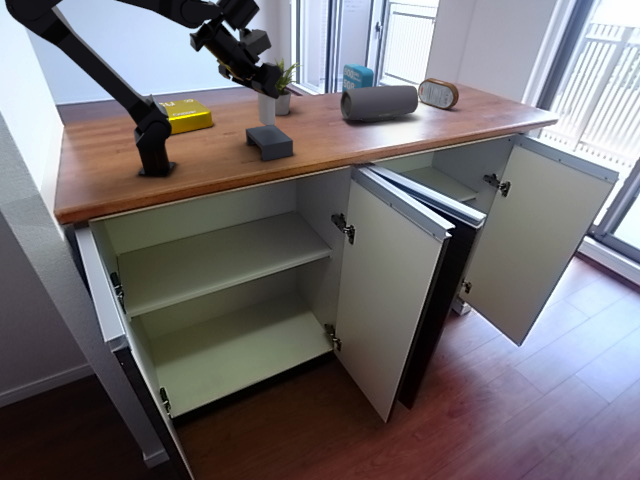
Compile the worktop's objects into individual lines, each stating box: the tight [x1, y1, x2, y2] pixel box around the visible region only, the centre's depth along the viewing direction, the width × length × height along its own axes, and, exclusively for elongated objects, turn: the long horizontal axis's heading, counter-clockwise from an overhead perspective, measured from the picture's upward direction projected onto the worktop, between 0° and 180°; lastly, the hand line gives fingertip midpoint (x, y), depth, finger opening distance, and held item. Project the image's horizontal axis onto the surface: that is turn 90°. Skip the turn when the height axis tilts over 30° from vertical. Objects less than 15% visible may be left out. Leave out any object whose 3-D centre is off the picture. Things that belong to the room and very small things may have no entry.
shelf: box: [245, 124, 294, 162], centre depth 96 cm, size 8×12×4 cm, turn 29°
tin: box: [417, 77, 460, 110], centre depth 128 cm, size 15×3×8 cm, turn 42°
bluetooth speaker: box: [339, 84, 419, 123], centre depth 115 cm, size 23×9×10 cm, turn 110°
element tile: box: [158, 98, 214, 135], centre depth 108 cm, size 15×15×5 cm
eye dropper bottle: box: [257, 92, 276, 126], centre depth 90 cm, size 4×6×12 cm
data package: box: [341, 62, 375, 95], centre depth 126 cm, size 12×4×12 cm, turn 28°
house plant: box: [261, 57, 304, 116], centre depth 114 cm, size 14×14×16 cm
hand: (270, 94), depth 91 cm, fingers closed on eye dropper bottle, 5 cm apart
